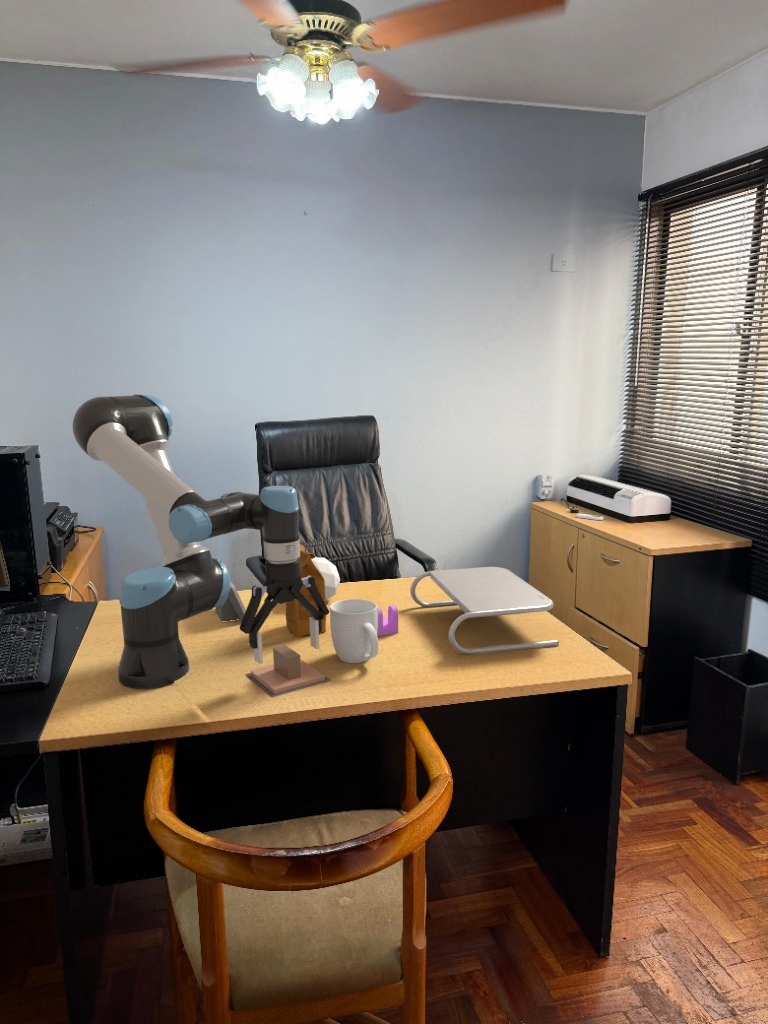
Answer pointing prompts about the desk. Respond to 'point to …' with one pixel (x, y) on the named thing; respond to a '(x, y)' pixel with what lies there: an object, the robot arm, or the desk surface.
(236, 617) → the digital clock
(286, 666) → the lid
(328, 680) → the mat
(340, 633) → the mug
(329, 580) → the geodesic sphere
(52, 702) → the desk surface
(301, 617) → the coffee package
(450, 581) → the monitor stand
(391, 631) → the bracket
